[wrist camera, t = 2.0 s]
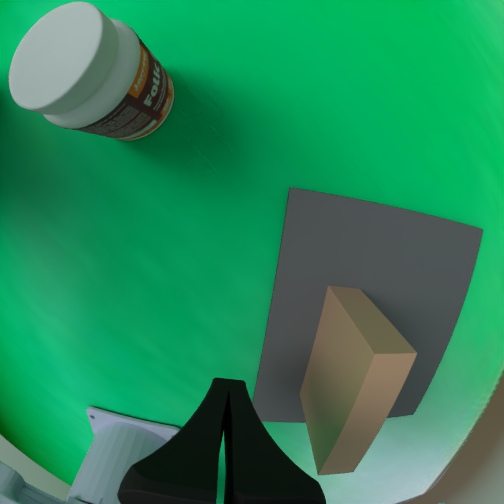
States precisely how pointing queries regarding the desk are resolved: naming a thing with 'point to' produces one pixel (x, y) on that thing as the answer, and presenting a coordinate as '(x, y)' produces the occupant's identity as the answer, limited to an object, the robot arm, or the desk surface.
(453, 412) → the desk surface
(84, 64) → the pill bottle
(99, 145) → the desk surface
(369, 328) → the block
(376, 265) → the mat
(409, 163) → the desk surface
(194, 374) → the desk surface
